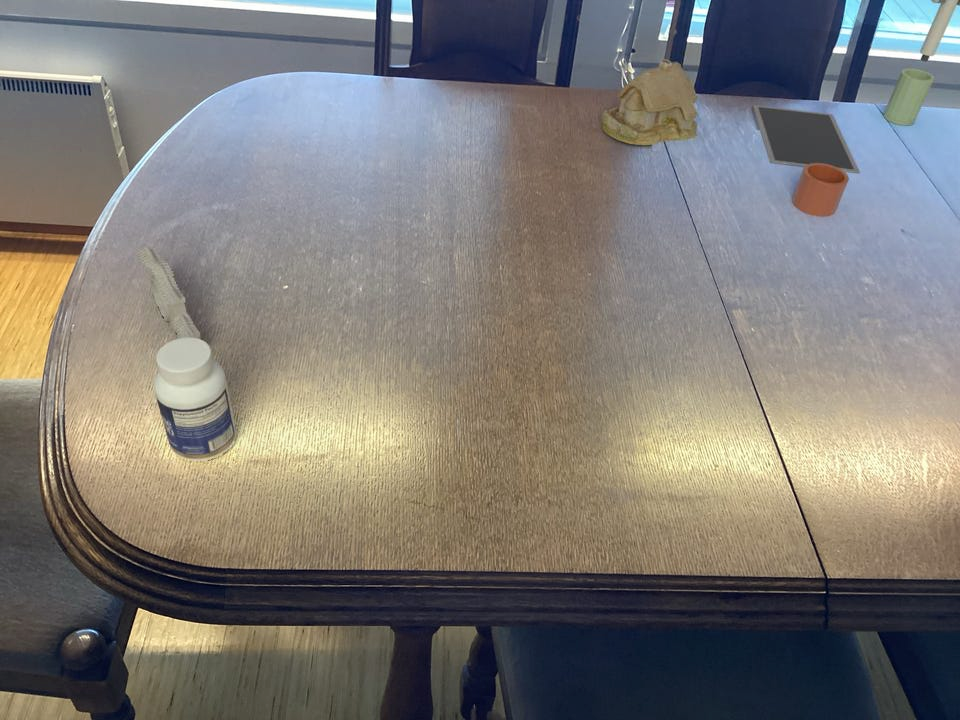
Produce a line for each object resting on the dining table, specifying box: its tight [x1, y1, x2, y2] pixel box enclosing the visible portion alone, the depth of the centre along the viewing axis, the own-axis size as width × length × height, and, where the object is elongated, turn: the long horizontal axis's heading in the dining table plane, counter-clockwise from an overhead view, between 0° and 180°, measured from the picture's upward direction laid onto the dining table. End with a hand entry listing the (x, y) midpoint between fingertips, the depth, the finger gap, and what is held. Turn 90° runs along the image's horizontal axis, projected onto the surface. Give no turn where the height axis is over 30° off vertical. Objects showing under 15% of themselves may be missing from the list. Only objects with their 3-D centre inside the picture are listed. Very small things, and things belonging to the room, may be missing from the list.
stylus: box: [919, 0, 959, 62], centre depth 116 cm, size 2×2×12 cm
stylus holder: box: [791, 163, 850, 218], centre depth 102 cm, size 5×5×5 cm
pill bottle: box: [153, 337, 237, 461], centre depth 65 cm, size 5×5×10 cm
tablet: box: [751, 104, 861, 175], centre depth 118 cm, size 12×18×1 cm, turn 173°
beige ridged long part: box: [137, 245, 202, 340], centre depth 77 cm, size 12×2×6 cm, turn 33°
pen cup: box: [882, 67, 935, 126], centre depth 124 cm, size 5×5×7 cm
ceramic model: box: [600, 58, 698, 146], centre depth 114 cm, size 14×11×10 cm
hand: (949, 3), depth 115 cm, fingers closed on stylus, 2 cm apart
